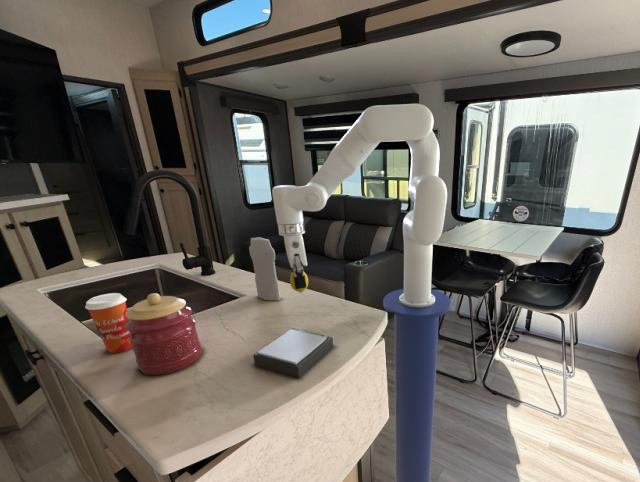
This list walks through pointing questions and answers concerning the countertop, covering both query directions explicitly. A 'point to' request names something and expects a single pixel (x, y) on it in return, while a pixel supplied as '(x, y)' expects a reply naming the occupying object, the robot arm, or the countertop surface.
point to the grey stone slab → (264, 269)
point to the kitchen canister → (162, 334)
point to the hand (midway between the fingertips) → (299, 284)
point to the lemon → (294, 282)
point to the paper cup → (110, 320)
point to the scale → (294, 352)
